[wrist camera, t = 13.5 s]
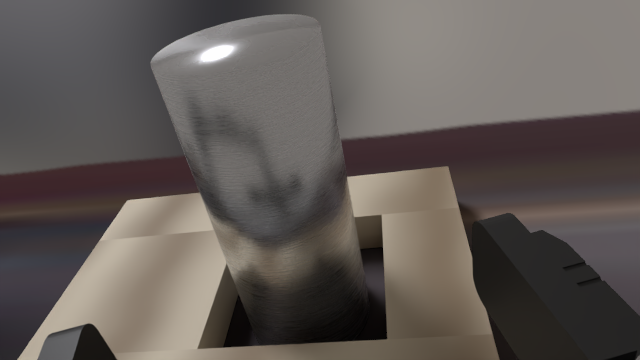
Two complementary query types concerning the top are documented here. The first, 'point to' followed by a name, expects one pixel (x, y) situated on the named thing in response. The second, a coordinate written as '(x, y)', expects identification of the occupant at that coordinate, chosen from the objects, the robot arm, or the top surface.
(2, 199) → the top surface
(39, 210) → the top surface
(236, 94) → the grey cylinder
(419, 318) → the mounting board
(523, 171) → the top surface
